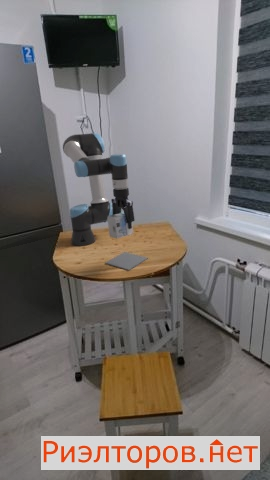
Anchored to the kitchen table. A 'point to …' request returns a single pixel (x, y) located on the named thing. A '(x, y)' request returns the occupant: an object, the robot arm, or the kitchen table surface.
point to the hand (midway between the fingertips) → (124, 232)
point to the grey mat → (126, 261)
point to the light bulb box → (117, 225)
